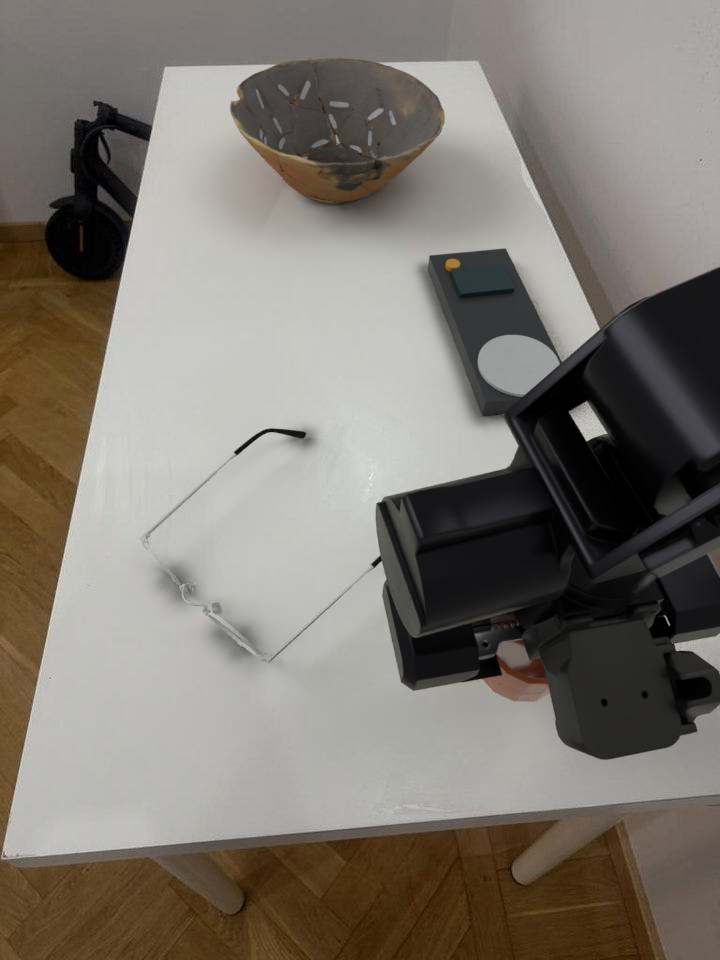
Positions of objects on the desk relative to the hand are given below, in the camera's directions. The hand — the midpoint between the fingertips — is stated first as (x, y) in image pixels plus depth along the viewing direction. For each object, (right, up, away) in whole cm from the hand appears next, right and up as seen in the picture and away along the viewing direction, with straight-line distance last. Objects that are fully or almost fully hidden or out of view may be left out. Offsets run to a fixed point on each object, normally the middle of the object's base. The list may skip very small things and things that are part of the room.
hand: (519, 652), depth 43 cm
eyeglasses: (-17, +6, +10) cm, 21 cm away
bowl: (-14, +50, +40) cm, 65 cm away
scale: (+3, +27, +25) cm, 37 cm away
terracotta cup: (0, -1, +1) cm, 1 cm away
